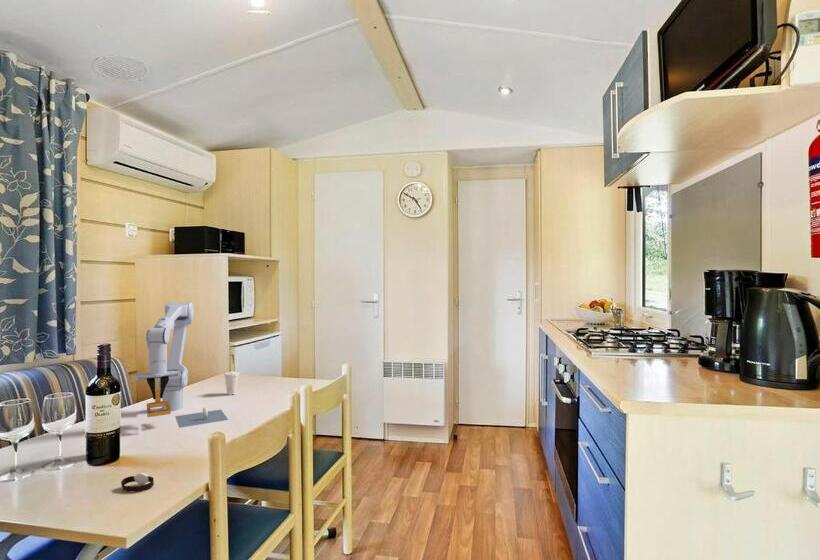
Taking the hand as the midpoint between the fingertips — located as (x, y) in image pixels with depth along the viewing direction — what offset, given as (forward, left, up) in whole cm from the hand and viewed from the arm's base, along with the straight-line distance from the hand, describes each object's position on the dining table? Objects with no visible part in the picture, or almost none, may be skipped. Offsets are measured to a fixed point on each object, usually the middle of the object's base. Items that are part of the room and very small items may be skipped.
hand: (157, 398), depth 158 cm
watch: (+53, -7, -10) cm, 54 cm away
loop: (+2, 0, -3) cm, 4 cm away
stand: (+4, +14, -9) cm, 17 cm away
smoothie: (-30, +31, -10) cm, 44 cm away
